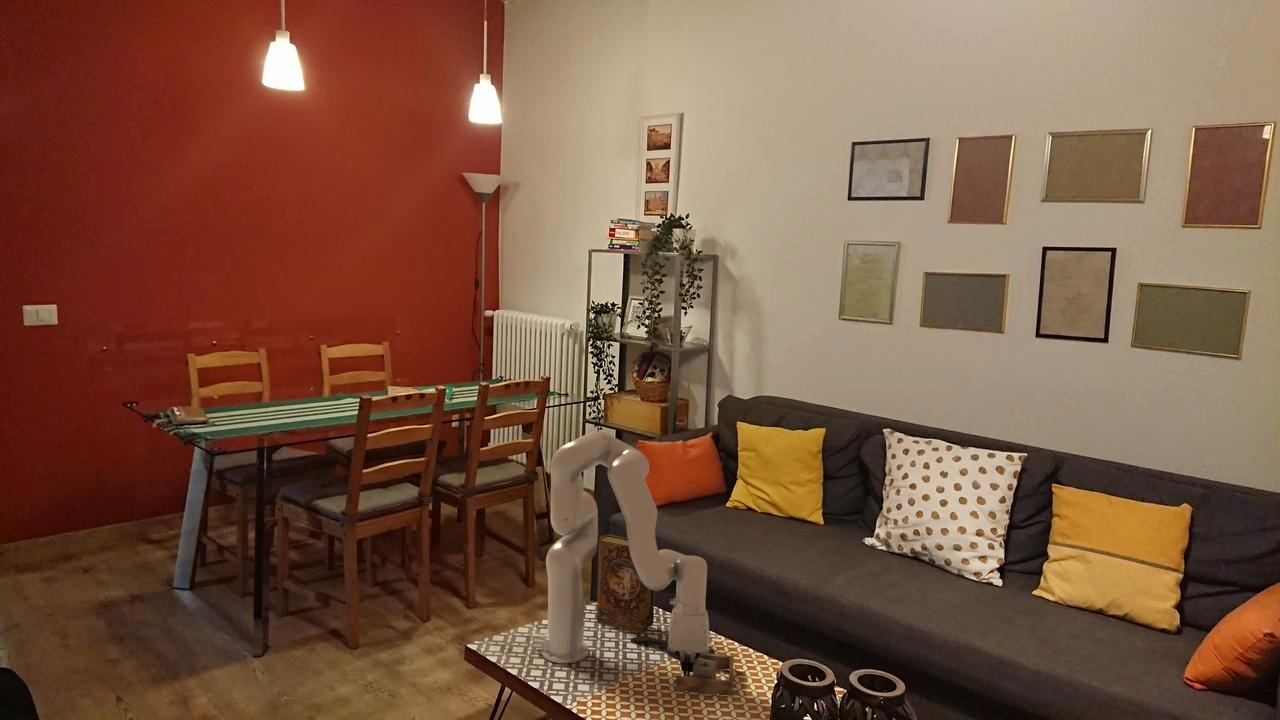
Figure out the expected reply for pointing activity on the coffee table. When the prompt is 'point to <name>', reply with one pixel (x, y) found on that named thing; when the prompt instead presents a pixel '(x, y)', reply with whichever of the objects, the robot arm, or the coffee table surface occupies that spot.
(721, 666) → the box
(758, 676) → the coffee table surface
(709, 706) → the coffee table surface
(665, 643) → the hairbrush
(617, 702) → the coffee table surface
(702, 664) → the dice cube
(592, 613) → the coffee table surface
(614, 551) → the book
